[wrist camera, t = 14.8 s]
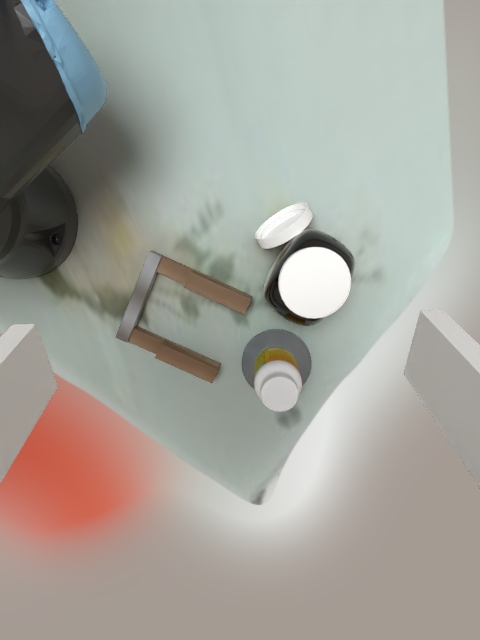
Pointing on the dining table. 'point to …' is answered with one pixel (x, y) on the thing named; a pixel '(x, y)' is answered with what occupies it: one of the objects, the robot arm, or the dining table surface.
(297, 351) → the pad
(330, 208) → the dining table surface
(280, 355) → the supplement bottle
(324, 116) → the dining table surface
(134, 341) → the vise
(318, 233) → the spread jar
